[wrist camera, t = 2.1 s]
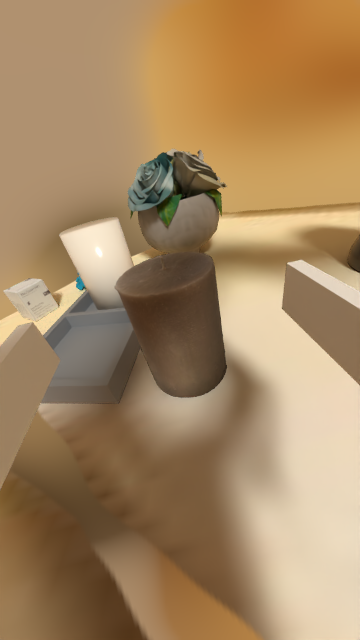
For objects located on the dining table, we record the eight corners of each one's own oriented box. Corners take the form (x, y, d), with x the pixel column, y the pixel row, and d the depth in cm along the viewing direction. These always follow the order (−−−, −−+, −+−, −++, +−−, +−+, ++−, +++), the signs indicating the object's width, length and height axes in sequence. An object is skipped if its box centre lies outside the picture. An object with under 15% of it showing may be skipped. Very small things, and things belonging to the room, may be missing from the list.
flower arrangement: (243, 255, 54) (241, 128, 40) (147, 281, 52) (108, 159, 38) (212, 234, 74) (203, 144, 60) (142, 252, 73) (116, 165, 59)
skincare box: (36, 322, 47) (15, 293, 43) (23, 318, 50) (1, 290, 46) (60, 306, 51) (42, 278, 47) (46, 304, 54) (28, 277, 50)
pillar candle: (243, 370, 26) (237, 247, 17) (173, 415, 23) (126, 294, 15) (198, 332, 33) (180, 234, 25) (142, 363, 30) (99, 263, 22)
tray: (165, 282, 50) (161, 268, 48) (118, 403, 26) (107, 385, 24) (103, 290, 54) (98, 277, 52) (11, 403, 29) (-7, 387, 27)
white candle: (148, 286, 48) (125, 214, 39) (135, 312, 40) (103, 228, 31) (108, 291, 50) (78, 223, 41) (88, 316, 42) (46, 239, 33)
